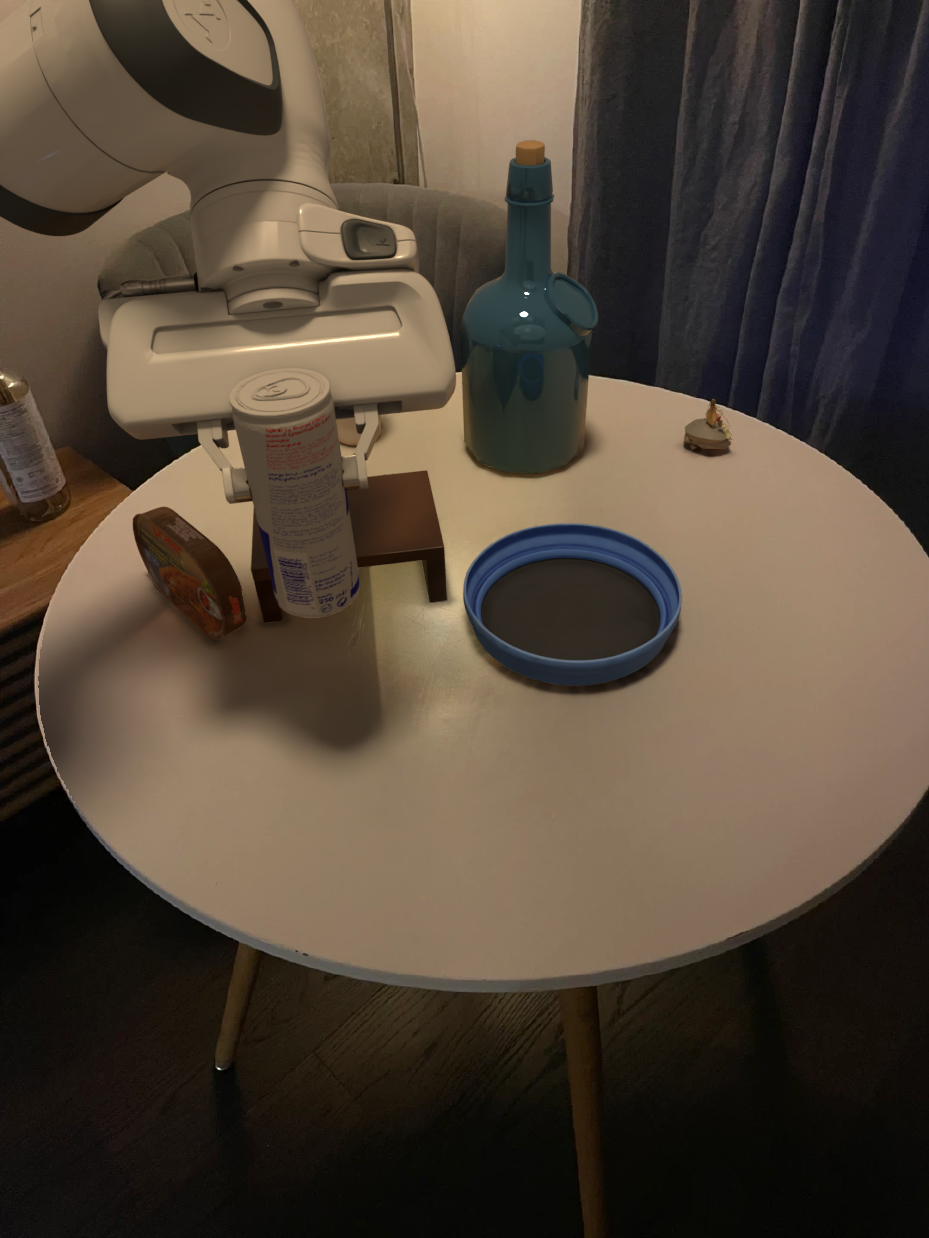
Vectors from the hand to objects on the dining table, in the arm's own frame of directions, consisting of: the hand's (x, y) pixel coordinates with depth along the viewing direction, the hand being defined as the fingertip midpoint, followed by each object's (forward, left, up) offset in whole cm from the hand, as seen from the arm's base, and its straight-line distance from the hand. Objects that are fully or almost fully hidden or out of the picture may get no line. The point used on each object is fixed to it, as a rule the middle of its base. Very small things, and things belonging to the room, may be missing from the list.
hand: (299, 494), depth 53 cm
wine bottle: (+22, +38, -22) cm, 49 cm away
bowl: (+20, +10, -22) cm, 31 cm away
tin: (-12, +17, -22) cm, 30 cm away
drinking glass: (+4, +44, -22) cm, 49 cm away
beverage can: (0, +1, -9) cm, 9 cm away
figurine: (+41, +34, -22) cm, 57 cm away
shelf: (+2, +20, -22) cm, 29 cm away
